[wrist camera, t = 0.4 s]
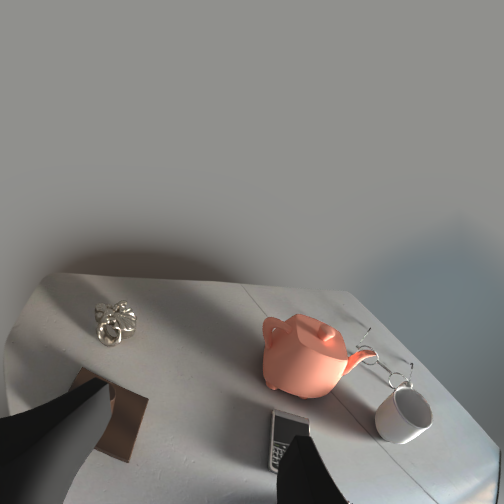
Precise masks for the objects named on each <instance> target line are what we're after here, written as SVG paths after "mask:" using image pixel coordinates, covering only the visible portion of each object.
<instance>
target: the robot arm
mask: <svg viewBox="0 0 504 504" xmlns="http://www.w3.org/2000/svg"><path fill="white" fill-rule="evenodd" d="M111 417H112V412H111V403H110V394H109V384H108V383H107V382H105V381H103V380H101V379H99V378H96V377H94V378H92V379H91V380H89V381H87V382H85V383H83V384H82V385H80V386H78V387H76V388H75V389H73V390H71V391H69V392H67V393H65V394H64V395H62V396H60V397H58V398H56V399H54V400H52V401H50V402H47V403H45V404H43V405H41V406H38V407H36V408H34V409H31V410H28V411H25V412H23V413H19V414H16V415H13V416H9V417H4V418H0V504H63V502H64V499H65V497H66V495H67V492H68V490H69V488H70V486H71V484H72V482H73V479H74V477H75V476H76V474H77V472H78V470H79V469H80V467H81V466H82V464H83V463H84V462H85V460H86V459H87V457H88V456H89V454H90V453H91V451H92V450H93V448H94V447H95V445H96V444H97V442H98V441H99V439H100V438H101V436H102V435H103V433H104V431H105V429H106V427H107V425H108V423H109V421H110V419H111ZM277 504H349V503H348V502H347V500H346V499H345V497H344V496H343V494H342V493H341V492H340V490H339V488H338V487H337V485H336V483H335V482H334V480H333V478H332V477H331V475H330V473H329V471H328V469H327V468H326V466H325V464H324V462H323V460H322V458H321V456H320V454H319V452H318V450H317V447H316V445H315V443H314V441H313V439H312V437H310V436H301V435H295V437H294V438H293V440H292V442H291V443H290V445H289V447H288V448H287V450H286V451H285V453H284V455H283V456H282V458H281V459H280V461H279V465H278V474H277Z"/></svg>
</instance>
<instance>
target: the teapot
mask: <svg viewBox="0 0 504 504" xmlns="http://www.w3.org/2000/svg"><path fill="white" fill-rule="evenodd" d="M273 328H276V329H275V330H274V331H273V332H272V330H273ZM262 329H263V336H264V340H265V343H266V344H265V349H264V355H263V375H264V378H265V380H266V385H267V386H268V387H269V388H270V389H273V390H276V389H278V388H279V389H281V390H283V391H285V392H288V393H290V394H293V395H296V396H299V397H300V398H301V399H304V400H306V399H308V398H318V397H322V396H325V395H326V394H328V393H329V392H330V391H331V390H332V389H333V388H334V386H335V385H336V384H337V382H338V381H339V379H340V378H341V376H344V375H345V374H347V373H348V372H349V371H350V370H352V369H353V367H354V366H355V365H356V364H358V363H359V362H360V361H361V360H363V359H364V358H367V357H370V356H375V355H376V353H375V352H373V351H371V350H362V351H359V352H357V353H355V354H353V355H352V356H350V357H348V356H347V351H346V347H345V343H344V340H343V337H342V335H341V333H340V332H339V331H337V330H336V329H334V328H333V327H331V326H329V325H327V324H325V323H323V322H321V321H319V320H316V319H314V318H311V317H308V316H305V315H302V314H296V315H294V316H292V317H291V318H289V319H288V320H286V321H285V322H283V321H281V320H279V319H277V318H274V317H268V318H266V319H265V320H264V323H263V328H262Z"/></svg>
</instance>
